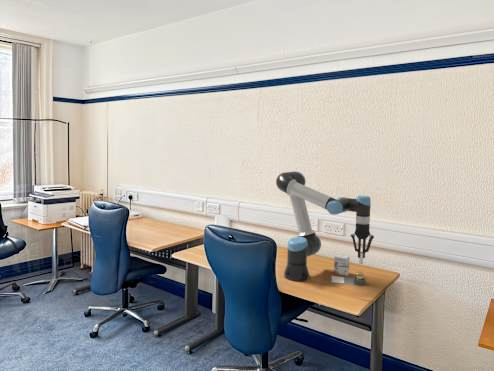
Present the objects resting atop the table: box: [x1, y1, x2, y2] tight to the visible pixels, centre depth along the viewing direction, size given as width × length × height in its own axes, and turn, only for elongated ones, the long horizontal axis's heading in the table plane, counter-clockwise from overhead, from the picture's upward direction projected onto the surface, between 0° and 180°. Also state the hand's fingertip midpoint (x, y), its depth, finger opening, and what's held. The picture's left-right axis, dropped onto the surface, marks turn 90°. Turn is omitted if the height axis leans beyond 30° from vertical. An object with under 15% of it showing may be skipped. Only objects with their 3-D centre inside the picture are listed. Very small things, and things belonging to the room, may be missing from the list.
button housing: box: [353, 275, 366, 286], centre depth 219 cm, size 6×6×3 cm
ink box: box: [333, 254, 350, 276], centre depth 235 cm, size 9×5×12 cm, turn 62°
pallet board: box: [330, 275, 366, 286], centre depth 223 cm, size 19×11×1 cm, turn 79°
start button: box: [355, 271, 365, 280], centre depth 219 cm, size 4×4×6 cm
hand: (361, 263), depth 218 cm, fingers closed
